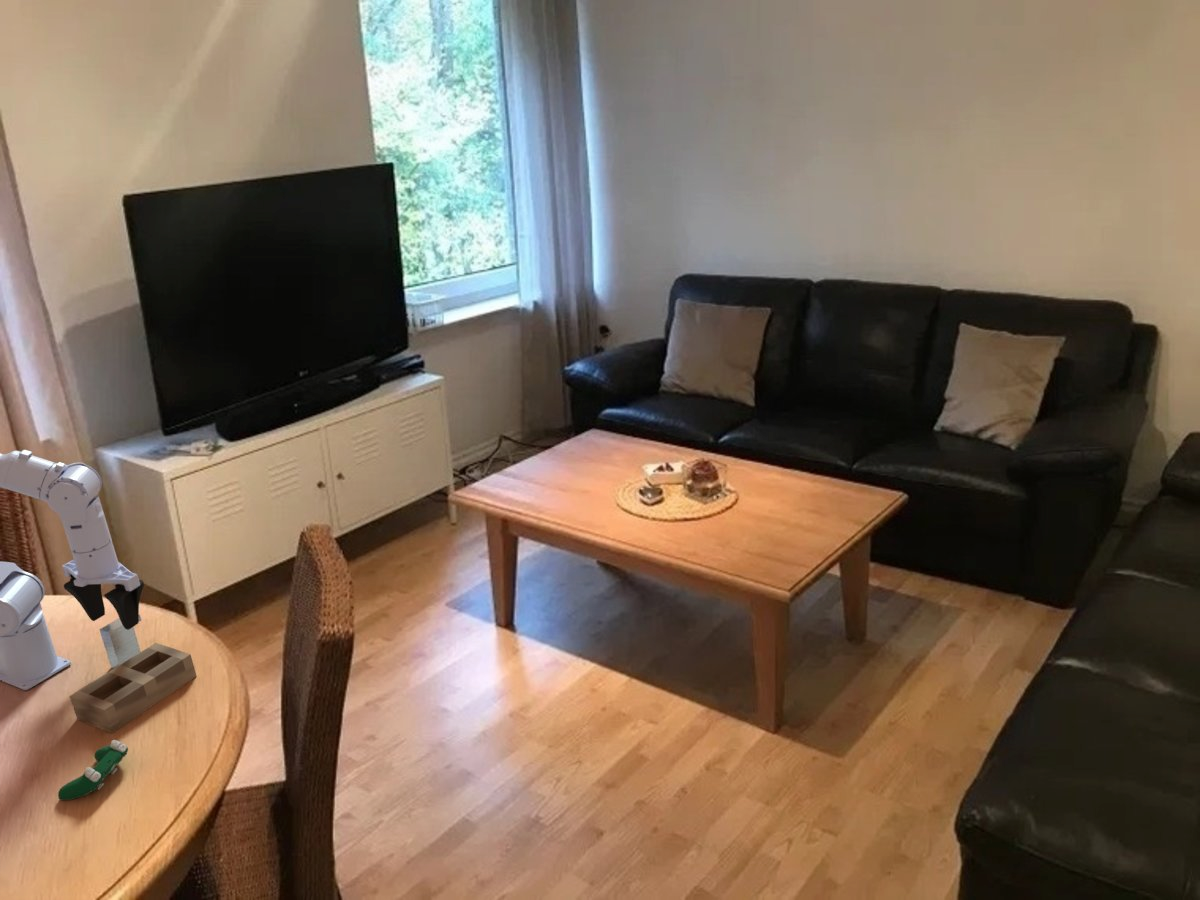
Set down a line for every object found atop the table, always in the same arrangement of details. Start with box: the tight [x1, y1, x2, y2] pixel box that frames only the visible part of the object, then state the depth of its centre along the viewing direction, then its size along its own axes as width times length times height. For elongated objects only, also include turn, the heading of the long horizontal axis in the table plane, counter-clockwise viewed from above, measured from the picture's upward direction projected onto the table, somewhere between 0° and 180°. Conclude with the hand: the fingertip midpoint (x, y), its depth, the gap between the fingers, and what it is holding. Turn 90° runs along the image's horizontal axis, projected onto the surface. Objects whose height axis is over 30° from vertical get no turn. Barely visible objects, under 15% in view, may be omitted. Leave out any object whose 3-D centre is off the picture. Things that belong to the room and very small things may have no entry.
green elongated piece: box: [57, 739, 129, 801], centre depth 140 cm, size 9×4×6 cm
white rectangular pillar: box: [99, 614, 142, 669], centre depth 166 cm, size 2×6×7 cm, turn 150°
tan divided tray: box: [69, 642, 197, 734], centre depth 157 cm, size 8×15×4 cm, turn 149°
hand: (115, 621), depth 164 cm, fingers open, 7 cm apart
